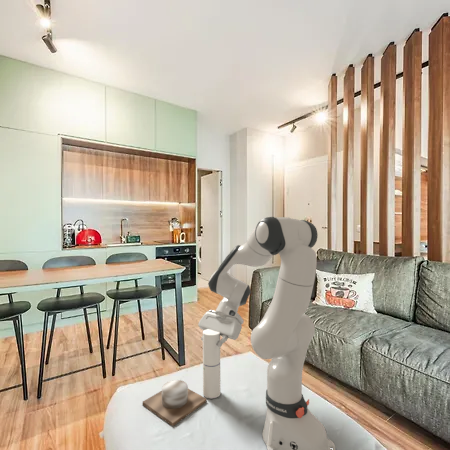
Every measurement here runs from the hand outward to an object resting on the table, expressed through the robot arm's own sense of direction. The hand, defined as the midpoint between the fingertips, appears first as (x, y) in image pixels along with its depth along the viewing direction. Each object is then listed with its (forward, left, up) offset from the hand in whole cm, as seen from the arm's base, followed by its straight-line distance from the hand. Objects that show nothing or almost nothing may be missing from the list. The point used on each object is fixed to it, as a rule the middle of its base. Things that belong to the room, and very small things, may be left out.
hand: (210, 343), depth 111 cm
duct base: (+7, +13, -21) cm, 26 cm away
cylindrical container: (0, -1, -21) cm, 21 cm away
